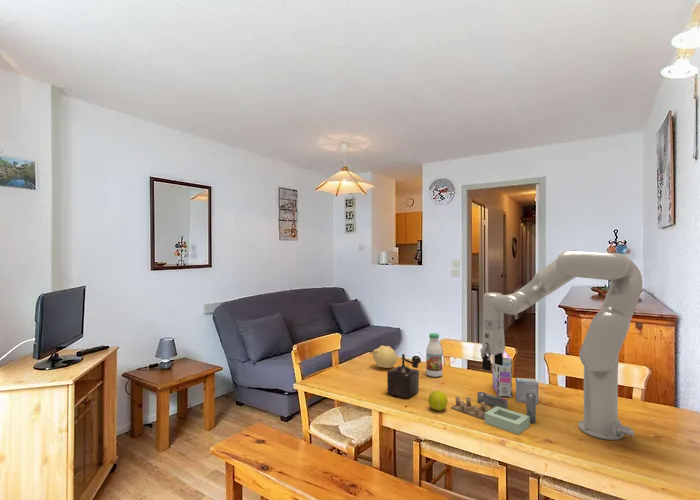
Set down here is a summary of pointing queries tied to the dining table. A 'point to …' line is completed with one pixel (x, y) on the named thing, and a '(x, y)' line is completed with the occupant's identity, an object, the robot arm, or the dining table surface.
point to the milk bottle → (434, 356)
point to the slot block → (507, 420)
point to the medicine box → (526, 389)
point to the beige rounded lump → (385, 356)
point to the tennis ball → (437, 400)
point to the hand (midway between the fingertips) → (492, 367)
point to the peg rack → (471, 408)
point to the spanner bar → (492, 400)
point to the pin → (531, 407)
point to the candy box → (503, 376)
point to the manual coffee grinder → (404, 379)
